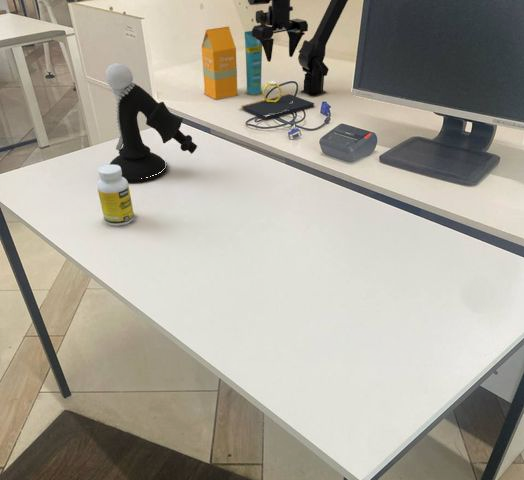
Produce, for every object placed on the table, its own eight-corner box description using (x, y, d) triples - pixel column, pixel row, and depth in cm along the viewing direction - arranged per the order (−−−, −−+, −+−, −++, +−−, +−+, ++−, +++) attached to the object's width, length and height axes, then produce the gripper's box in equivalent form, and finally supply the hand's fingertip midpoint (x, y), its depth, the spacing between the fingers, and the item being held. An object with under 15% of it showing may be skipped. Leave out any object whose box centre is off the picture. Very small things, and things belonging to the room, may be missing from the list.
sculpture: (117, 157, 143) (98, 54, 126) (204, 160, 142) (195, 56, 125) (100, 182, 132) (76, 72, 115) (194, 185, 130) (183, 74, 113)
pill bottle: (120, 229, 114) (109, 178, 106) (98, 222, 117) (86, 171, 109) (140, 217, 118) (131, 166, 110) (119, 210, 121) (109, 160, 113)
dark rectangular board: (288, 97, 181) (288, 93, 180) (313, 106, 173) (313, 103, 172) (241, 109, 172) (241, 105, 171) (266, 120, 164) (266, 116, 163)
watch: (262, 103, 172) (262, 83, 168) (262, 100, 174) (262, 81, 170) (281, 103, 172) (281, 83, 168) (280, 100, 174) (281, 81, 170)
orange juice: (237, 94, 183) (235, 28, 169) (215, 99, 179) (211, 32, 166) (226, 89, 188) (223, 24, 174) (204, 93, 184) (199, 27, 171)
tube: (251, 96, 181) (250, 32, 168) (241, 93, 184) (239, 30, 171) (266, 92, 185) (266, 29, 172) (257, 89, 188) (256, 26, 175)
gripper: (287, -5, 171) (285, 49, 181) (240, 2, 162) (242, 58, 172) (310, 0, 164) (307, 56, 174) (263, 7, 155) (263, 66, 166)
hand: (279, 59), depth 172 cm, fingers open, 9 cm apart
